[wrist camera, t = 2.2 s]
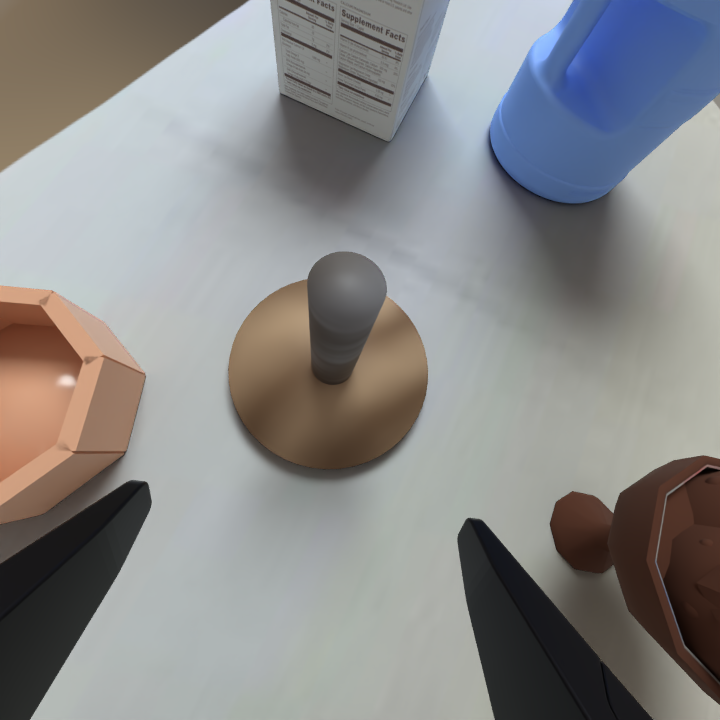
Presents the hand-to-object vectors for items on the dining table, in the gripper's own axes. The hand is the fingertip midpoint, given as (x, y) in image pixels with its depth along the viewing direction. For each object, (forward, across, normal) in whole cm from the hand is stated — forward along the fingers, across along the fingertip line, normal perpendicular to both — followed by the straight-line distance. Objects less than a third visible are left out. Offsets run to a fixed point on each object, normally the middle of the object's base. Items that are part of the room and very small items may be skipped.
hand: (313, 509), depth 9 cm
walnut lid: (+15, 0, +4) cm, 16 cm away
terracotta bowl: (+11, +19, +8) cm, 24 cm away
